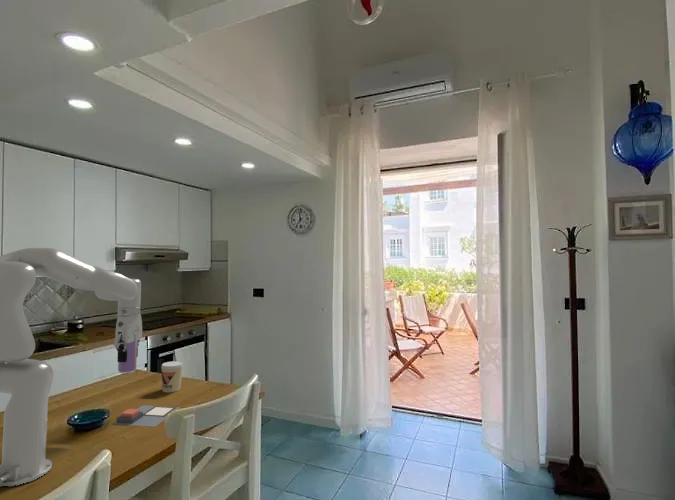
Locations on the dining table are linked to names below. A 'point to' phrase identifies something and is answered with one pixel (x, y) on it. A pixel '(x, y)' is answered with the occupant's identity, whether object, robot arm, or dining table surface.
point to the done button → (130, 413)
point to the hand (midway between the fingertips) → (127, 359)
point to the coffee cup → (171, 376)
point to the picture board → (147, 416)
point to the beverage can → (129, 357)
